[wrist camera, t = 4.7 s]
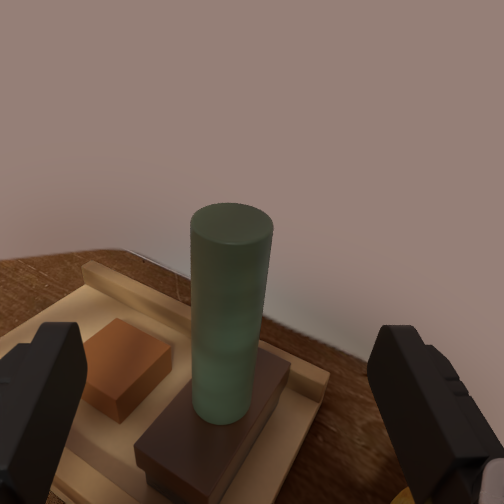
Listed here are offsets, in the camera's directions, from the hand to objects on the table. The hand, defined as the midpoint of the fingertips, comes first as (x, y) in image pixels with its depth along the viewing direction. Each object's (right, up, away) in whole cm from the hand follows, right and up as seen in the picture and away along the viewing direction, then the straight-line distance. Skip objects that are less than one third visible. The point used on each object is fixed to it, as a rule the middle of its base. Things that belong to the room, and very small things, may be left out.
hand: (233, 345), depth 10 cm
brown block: (-7, -4, +11) cm, 13 cm away
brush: (-1, -7, +8) cm, 11 cm away
